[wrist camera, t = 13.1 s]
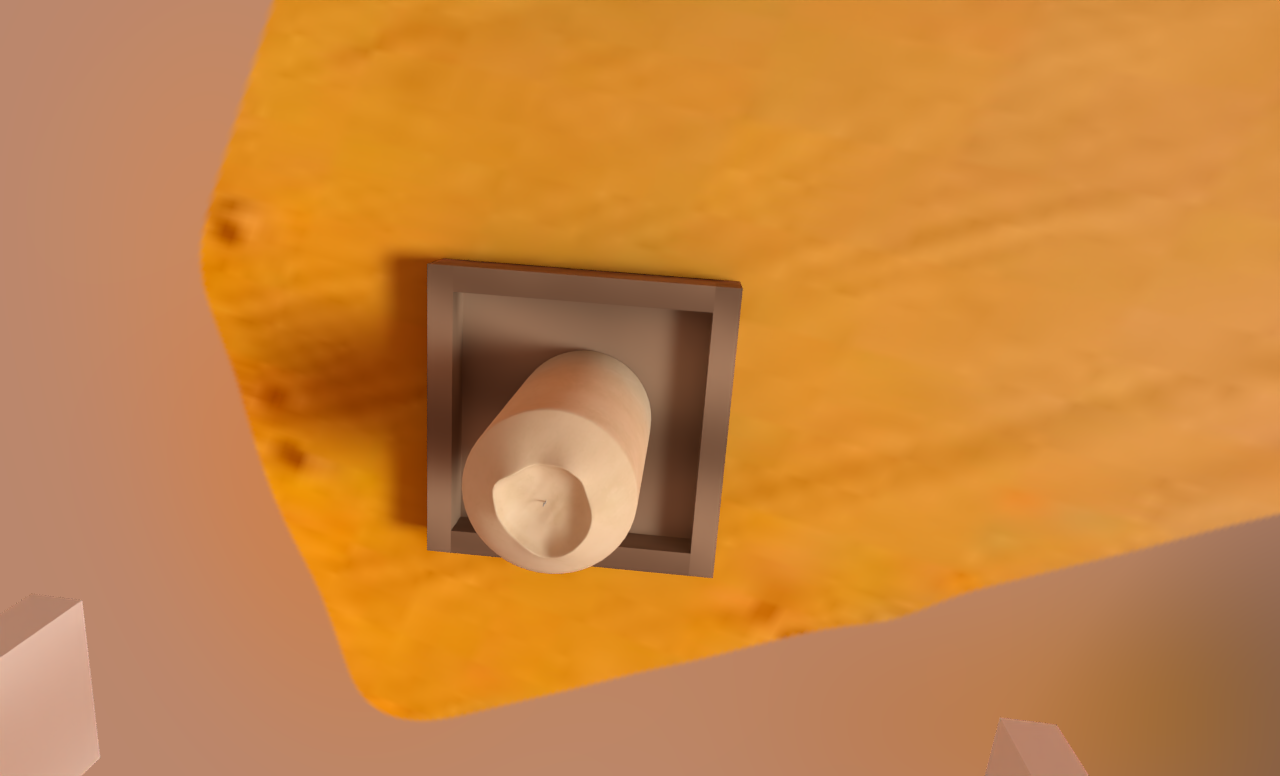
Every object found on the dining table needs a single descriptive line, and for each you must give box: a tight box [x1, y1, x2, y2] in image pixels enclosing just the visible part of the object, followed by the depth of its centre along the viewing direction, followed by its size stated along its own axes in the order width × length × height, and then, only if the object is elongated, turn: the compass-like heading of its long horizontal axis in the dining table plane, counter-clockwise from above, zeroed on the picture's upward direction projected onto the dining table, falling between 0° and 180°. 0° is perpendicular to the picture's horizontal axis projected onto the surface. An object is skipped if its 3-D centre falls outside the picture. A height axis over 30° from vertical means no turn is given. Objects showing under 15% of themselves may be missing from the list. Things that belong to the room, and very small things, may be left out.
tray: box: [427, 259, 743, 578], centre depth 33 cm, size 12×12×2 cm
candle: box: [462, 350, 651, 574], centre depth 28 cm, size 6×6×10 cm
